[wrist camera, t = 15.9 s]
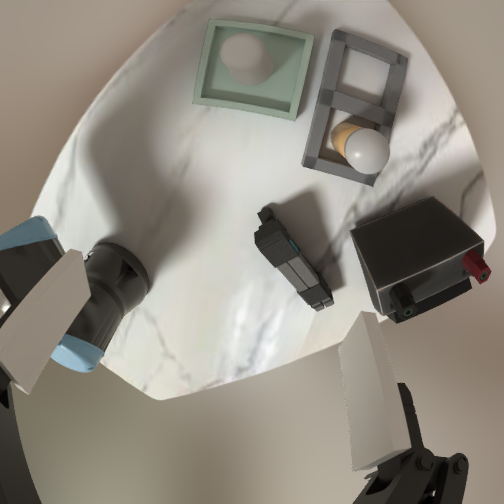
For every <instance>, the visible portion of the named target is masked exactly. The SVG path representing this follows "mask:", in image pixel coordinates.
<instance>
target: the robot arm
mask: <svg viewBox="0 0 504 504" xmlns="http://www.w3.org/2000/svg"><path fill="white" fill-rule="evenodd" d="M148 288H149V280H148V276H147V273H146V271H145V269H144V267H143V266H142V264H141V263H140V261H139V260H138V259H137V258H136V257H135V256H134V255H133V254H132V253H130V252H129V251H128V250H126V249H125V248H123V247H121V246H118V245H115V244H111V243H102V244H99V245H97V246H95V247H94V248H93V249H92V250H91V251H90V252H89V253H88V254H87V256H86V257H85V260H83V255H82V252H80V251H76V250H73V249H70V250H69V251H68V252H67V253H65V251H64V249H63V247H62V246H61V244H60V242H59V240H58V236H57V235H56V234H55V233H54V231H53V229H52V228H51V226H50V224H49V223H48V221H47V219H46V218H45V217H43V216H35V217H32V218H30V219H28V220H26V221H24V222H23V223H21V224H19V225H17V226H15V227H14V228H12V229H10V230H9V231H7V232H5V233H4V234H2V235H1V236H0V504H42V503H41V501H40V499H39V496H38V494H37V491H36V489H35V486H34V483H33V480H32V478H31V475H30V472H29V469H28V465H27V462H26V459H25V455H24V452H23V448H22V444H21V440H20V436H19V431H18V426H17V422H16V416H15V410H14V405H13V397H12V389H11V385H10V384H9V383H10V381H11V380H12V382H13V383H14V384H15V385H16V386H17V387H18V388H19V389H21V390H22V391H24V392H25V393H27V394H28V395H29V394H30V392H31V390H32V388H33V386H34V385H35V383H36V381H37V379H38V377H39V375H40V374H41V372H42V370H43V368H44V367H45V365H46V363H47V362H48V360H49V358H50V357H51V358H52V359H54V360H55V361H57V362H58V363H60V364H62V365H63V366H65V367H68V368H70V369H73V370H75V371H79V372H90V371H93V370H94V369H95V368H96V366H97V365H98V363H99V362H100V360H101V358H102V357H103V356H104V354H105V351H106V349H107V347H108V345H109V343H110V341H111V339H112V337H113V335H114V333H115V332H116V330H117V328H118V326H119V324H120V322H121V320H122V319H123V317H124V316H125V315H126V314H127V313H128V312H130V311H131V310H132V309H133V308H135V307H136V306H137V305H139V304H140V303H141V302H142V301H143V299H144V297H145V295H146V294H147V292H148ZM338 352H339V358H340V364H341V370H342V378H343V384H344V391H345V399H346V407H347V415H348V424H349V433H350V443H351V455H352V468H353V471H361V470H368V469H371V468H373V467H375V466H377V468H378V470H377V471H375V472H373V473H370V474H368V475H367V476H366V477H365V478H364V479H368V478H371V479H370V480H369V482H368V483H367V485H366V486H365V488H364V489H363V490H362V492H361V493H360V494H359V496H358V497H357V498H356V500H355V501H354V502H353V504H462V500H463V496H464V491H465V486H466V481H467V475H468V468H469V465H468V460H467V458H466V456H465V455H464V454H462V453H456V454H455V455H453V456H451V457H449V458H447V457H438V456H434V454H433V453H432V452H431V451H430V450H429V449H426V448H425V447H424V445H423V442H422V437H421V433H420V428H419V424H418V420H417V415H416V414H415V412H416V411H415V408H414V405H413V400H412V396H411V393H410V391H409V389H408V388H407V386H406V385H405V383H397V381H396V378H395V374H394V371H393V367H392V364H391V360H390V357H389V354H388V351H387V347H386V344H385V341H384V338H383V335H382V331H381V329H380V326H379V323H378V320H377V317H376V314H375V313H371V312H364V311H361V312H360V314H359V316H358V317H357V319H356V321H355V322H354V324H353V326H352V327H351V329H350V331H349V332H348V334H347V335H346V337H345V338H344V340H343V342H342V343H341V345H340V346H339V348H338ZM435 490H436V491H435ZM433 491H435V495H434V496H433V495H432V493H433Z"/></svg>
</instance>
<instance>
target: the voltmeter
mask: <svg viewBox="0 0 504 504" xmlns="http://www.w3.org/2000/svg"><path fill="white" fill-rule="evenodd" d="M350 234H351V237H352V240H353V243H354V246H355V249H356V252H357V255H358V258H359V261H360V264H361V267H362V270H363V273H364V276H365V280H366V283H367V286H368V290H369V293H370V297H371V300H372V303H373V305H374V308H375V309H376V310H377V311H378V312H379V313H380V314H381V315H382V316H385V315H387V316H388V317H389V318H390V319H392V320H393V321H394V322H395V323H400V322H403V321H405V320H408V319H410V318H412V317H415V316H417V315H419V314H422V313H424V312H426V311H428V310H430V309H433V308H435V307H437V306H439V305H441V304H443V303H445V302H447V301H449V300H451V299H453V298H455V297H457V296H459V295H461V294H463V293H465V292H467V291H468V290H470V289H472V286H471V282H470V279H469V277H470V276H473V277H475V278H476V280H477V281H478V282H479V284H482V283H483V282H485V281H487V279H488V278H489V276H490V274H491V270H490V268H489V267H488V266H487V265H486V263H485V261H484V240H483V239H482V238H481V237H480V236H479V235H478V234H477V233H476V232H475V231H474V230H472V229H471V228H470V227H469V226H468V225H467V224H466V223H465V222H464V221H463V220H461V219H460V218H459V217H458V216H457V215H456V214H455V213H453V212H452V211H451V210H450V209H449V208H448V207H446V206H445V205H444V204H443V203H441V202H440V201H439V200H438V199H437V198H435V197H434V196H432V197H429V198H427V199H425V200H422V201H420V202H417V203H415V204H413V205H410V206H408V207H406V208H403V209H401V210H398V211H396V212H394V213H391V214H389V215H386V216H384V217H381V218H379V219H377V220H374V221H372V222H369V223H367V224H364V225H362V226H359V227H357V228H354V229H352V230H350Z"/></svg>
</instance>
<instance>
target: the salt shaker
mask: <svg viewBox="0 0 504 504" xmlns="http://www.w3.org/2000/svg"><path fill="white" fill-rule="evenodd" d="M220 55H221V59H222V62H223V63H224V64H225V65H226V67H227V68H228V69H229V71H230V74H231V76H232V77H233V78H234V79H235V80H236V81H237V82H238V83H241V84H244V85H246V86H247V85H259V84H261V83H263V82H265V81H267V79H268V78H269V77H270V76H271V75H272V74H273V69H274V61H273V58H272V56H271V55H270V54H269V52H268V51H267V50H266V49H265V45H264V43H263V42H262V41H261V40H260V39H259V38H258V37H256V36H254V35H251V34H249V33H237V34H235V35H233V36H230V37H228V38H227V39H226V41H225V42H224V43H223V44H222V47H221V51H220Z"/></svg>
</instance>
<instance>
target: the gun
mask: <svg viewBox="0 0 504 504" xmlns="http://www.w3.org/2000/svg"><path fill="white" fill-rule="evenodd" d="M257 214H258V216H259V218H260V220H261V222H262V224H263V225H261V226H259V230H258V231H256V232H255V233H254V237H255V244H256V246H257V248H258V249H259V250H260V252H261V253H262V254H263V255H264V256H265V257H266V258H267V260H268V261H269V262H270V263H271V264H272V265H273V266H274V267H275V268H276V267H277V268H278V270H279V271H280V272H281V273H282V274H283V275H284V276H285V277H286V278H287V280H288V281H289V282H290V283H291V284H292V285H293V286H294V287H295V288H296V290H297V293H298V294H299V295H300V296H301V297H302V298H303V299H304V301H305V302H306V303H307V304H308V305H310V306H311V307H312V308H314V309H315V310H316V311H320V310H322V309H324V305H325V306H326V307H329V306H331V305H333V304H334V301H333V296H332V293H331V290H330V288H329V286H328V284H327V283H326V282H325V280H324V279H323V277H322V276H321V275H320V273H319V272H315V271H314V269H313V268H312V267H311V265H310V264H309V263H308V261H307V260H306V259H305V257H304V256H303V255H302V254H301V252H300V249H299V248H298V247H297V245H296V244H295V243H294V241H293V240H292V239H291V237H290V236H289V235H288V233H287V232H286V229H285V228H284V227H283V225H282V224H281V223H280V221H279V220H278V219H277V220H276V218H275V216H274V214H273V212H272V210H271V209H270V208H268V207H267V208H266V209H264V210H262V211H260V212H259V213H257Z"/></svg>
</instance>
